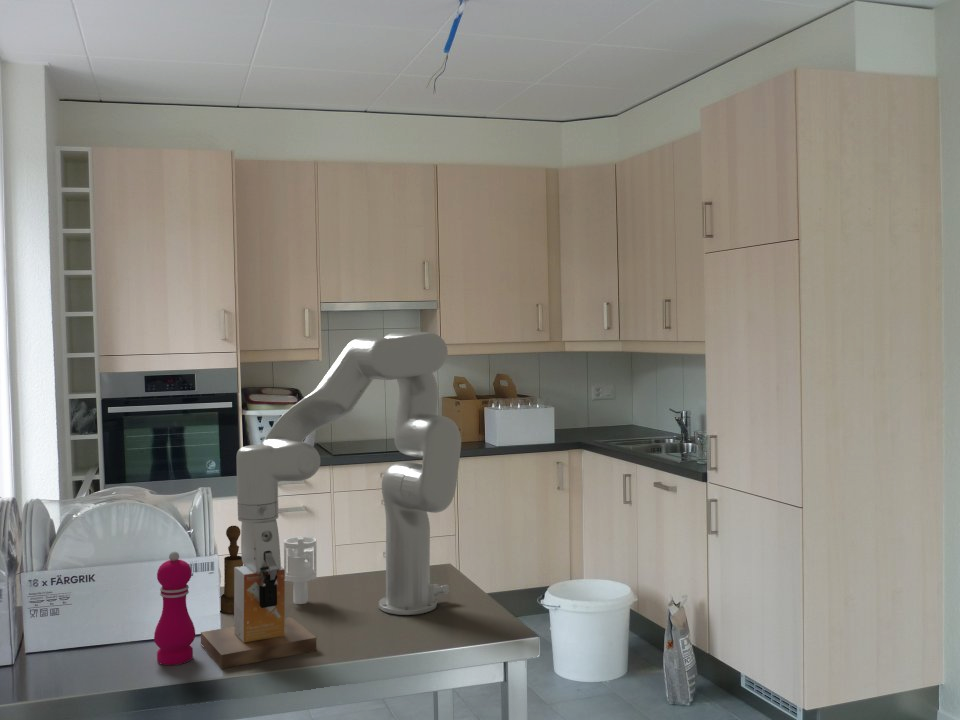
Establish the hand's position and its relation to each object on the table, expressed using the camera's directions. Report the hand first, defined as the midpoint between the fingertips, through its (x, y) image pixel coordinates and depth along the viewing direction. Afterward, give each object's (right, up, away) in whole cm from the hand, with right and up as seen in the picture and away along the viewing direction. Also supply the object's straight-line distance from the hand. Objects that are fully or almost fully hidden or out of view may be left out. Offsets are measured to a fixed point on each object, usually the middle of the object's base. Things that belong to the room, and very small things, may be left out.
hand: (260, 599), depth 176 cm
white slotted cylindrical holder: (+2, -8, +29) cm, 30 cm away
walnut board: (0, -9, 0) cm, 9 cm away
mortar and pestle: (-11, -8, +24) cm, 28 cm away
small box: (0, -7, 0) cm, 7 cm away
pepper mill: (-14, -10, -6) cm, 18 cm away
